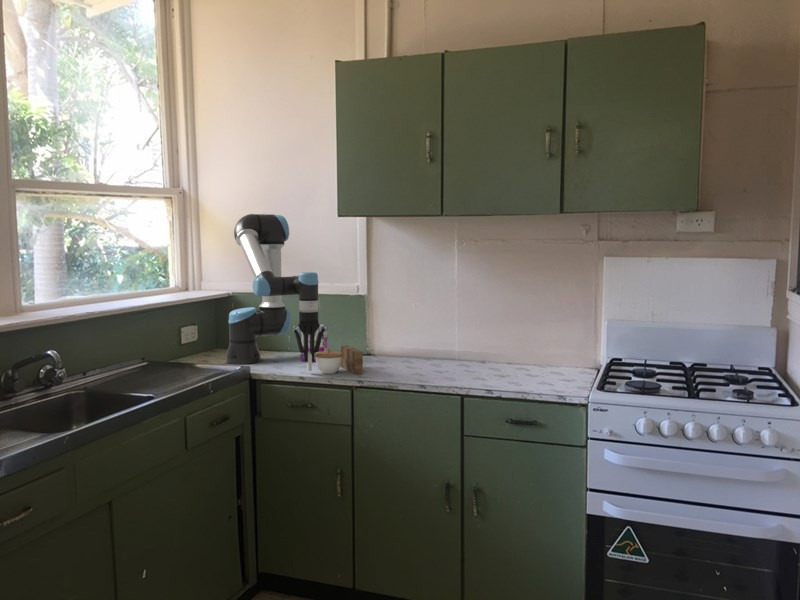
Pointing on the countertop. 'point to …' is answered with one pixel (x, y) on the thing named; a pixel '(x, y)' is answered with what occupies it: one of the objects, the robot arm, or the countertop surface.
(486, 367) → the countertop surface
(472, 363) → the countertop surface
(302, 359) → the candy bar box
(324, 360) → the lidded jar
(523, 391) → the countertop surface
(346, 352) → the board
